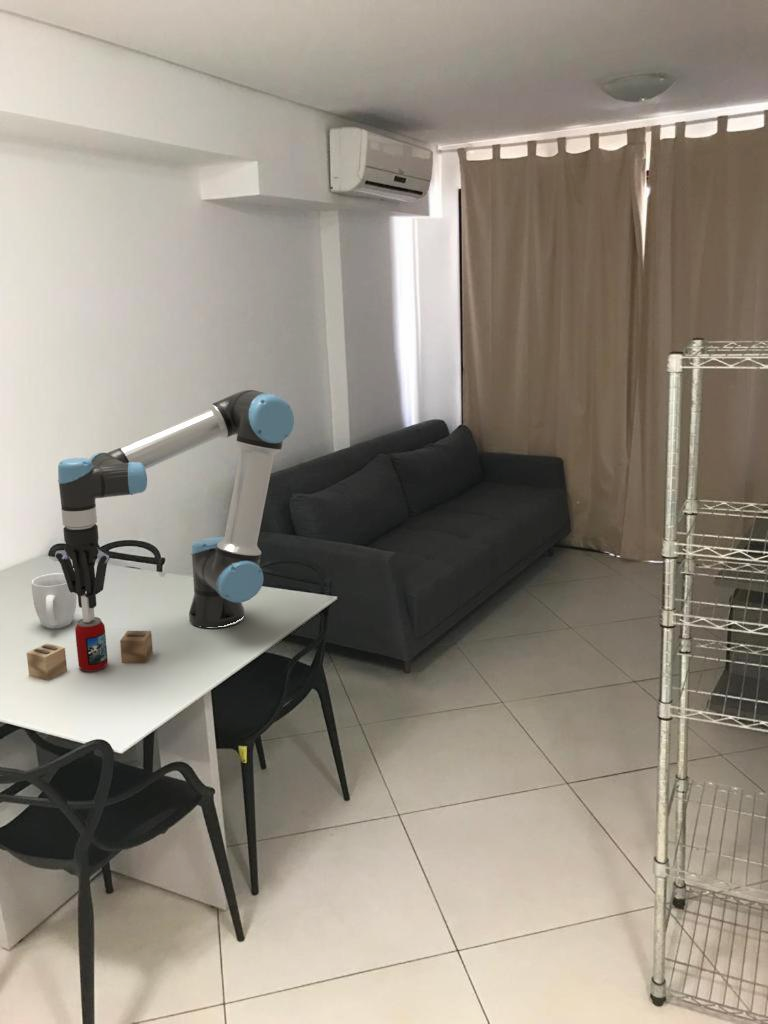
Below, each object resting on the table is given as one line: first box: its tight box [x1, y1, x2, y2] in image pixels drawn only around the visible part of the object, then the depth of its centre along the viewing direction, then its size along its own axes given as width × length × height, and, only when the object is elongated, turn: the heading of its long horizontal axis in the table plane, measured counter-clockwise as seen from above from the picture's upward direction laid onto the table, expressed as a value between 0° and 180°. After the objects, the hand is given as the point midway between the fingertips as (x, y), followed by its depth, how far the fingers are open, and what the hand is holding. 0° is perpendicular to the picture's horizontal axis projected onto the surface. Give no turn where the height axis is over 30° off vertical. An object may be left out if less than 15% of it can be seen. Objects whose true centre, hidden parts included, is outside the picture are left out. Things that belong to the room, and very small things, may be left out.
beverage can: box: [74, 616, 109, 672], centre depth 201 cm, size 7×7×12 cm
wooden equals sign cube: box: [26, 642, 68, 682], centre depth 199 cm, size 6×6×6 cm
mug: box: [31, 572, 77, 630], centre depth 225 cm, size 15×11×13 cm
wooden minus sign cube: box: [119, 630, 154, 664], centre depth 207 cm, size 6×6×6 cm
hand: (89, 620), depth 199 cm, fingers closed
